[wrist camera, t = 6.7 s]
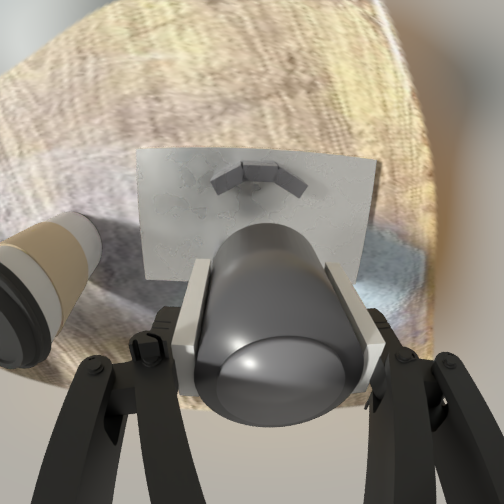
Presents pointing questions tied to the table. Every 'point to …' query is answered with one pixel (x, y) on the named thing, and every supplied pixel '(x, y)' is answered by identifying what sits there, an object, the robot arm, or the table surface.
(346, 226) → the barrel plate
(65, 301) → the coffee cup
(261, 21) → the table surface
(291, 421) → the grey domed cylinder
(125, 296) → the table surface
